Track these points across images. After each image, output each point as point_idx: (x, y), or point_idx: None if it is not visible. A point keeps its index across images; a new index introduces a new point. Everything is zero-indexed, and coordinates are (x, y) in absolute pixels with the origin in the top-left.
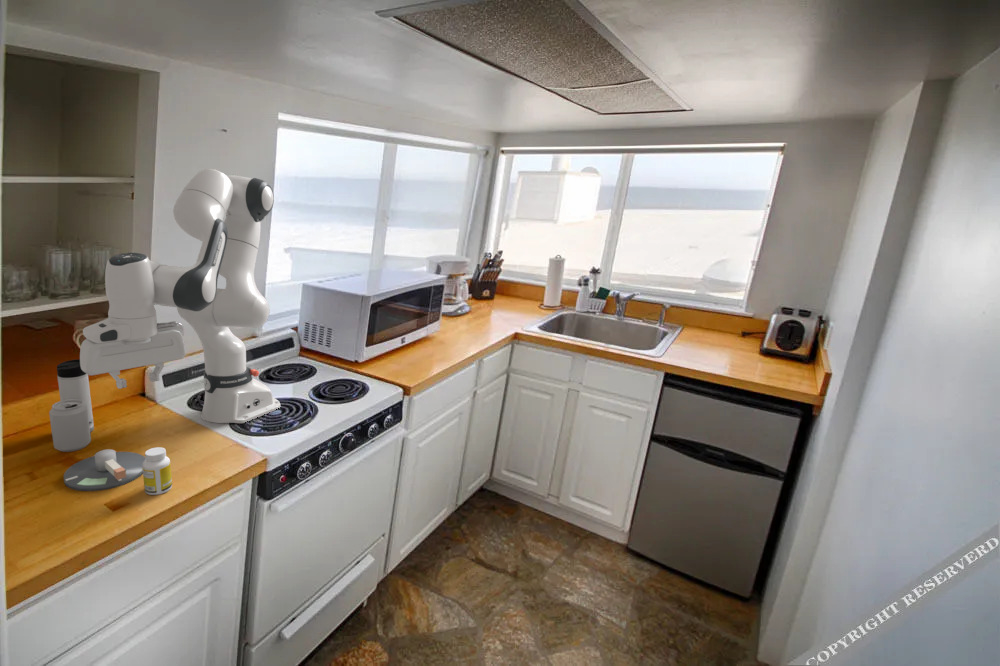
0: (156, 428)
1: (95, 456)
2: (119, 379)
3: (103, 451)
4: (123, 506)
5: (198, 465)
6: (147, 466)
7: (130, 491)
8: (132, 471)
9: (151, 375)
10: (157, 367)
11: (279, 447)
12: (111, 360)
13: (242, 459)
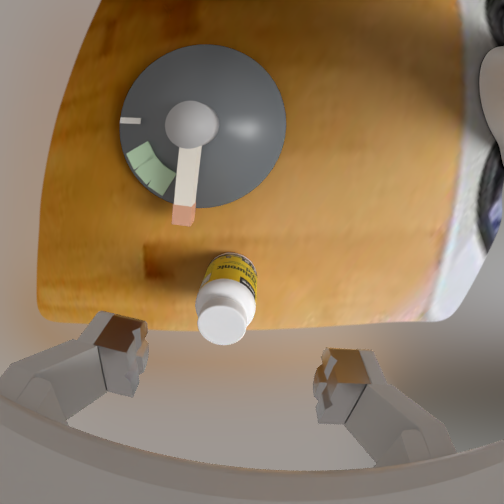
0: (394, 15)
1: (165, 123)
2: (84, 400)
3: (191, 109)
4: (162, 277)
5: (340, 252)
6: (198, 316)
7: (193, 239)
8: (226, 185)
9: (321, 410)
10: (390, 441)
11: (457, 308)
12: None
13: (398, 297)
